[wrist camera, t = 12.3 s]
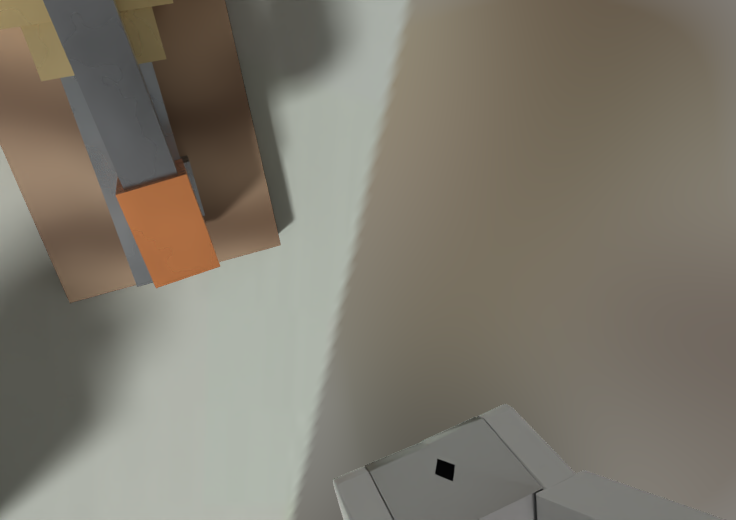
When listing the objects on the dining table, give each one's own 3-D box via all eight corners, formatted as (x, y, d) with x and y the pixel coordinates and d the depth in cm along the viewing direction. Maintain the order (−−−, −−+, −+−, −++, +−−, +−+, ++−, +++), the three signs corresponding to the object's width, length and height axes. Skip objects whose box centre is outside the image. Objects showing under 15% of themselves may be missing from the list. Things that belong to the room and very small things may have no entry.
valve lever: (-15, -130, 18) (-41, -154, 16) (75, -144, 19) (64, -170, 16) (151, 258, 25) (153, 288, 22) (213, 238, 26) (222, 265, 23)
